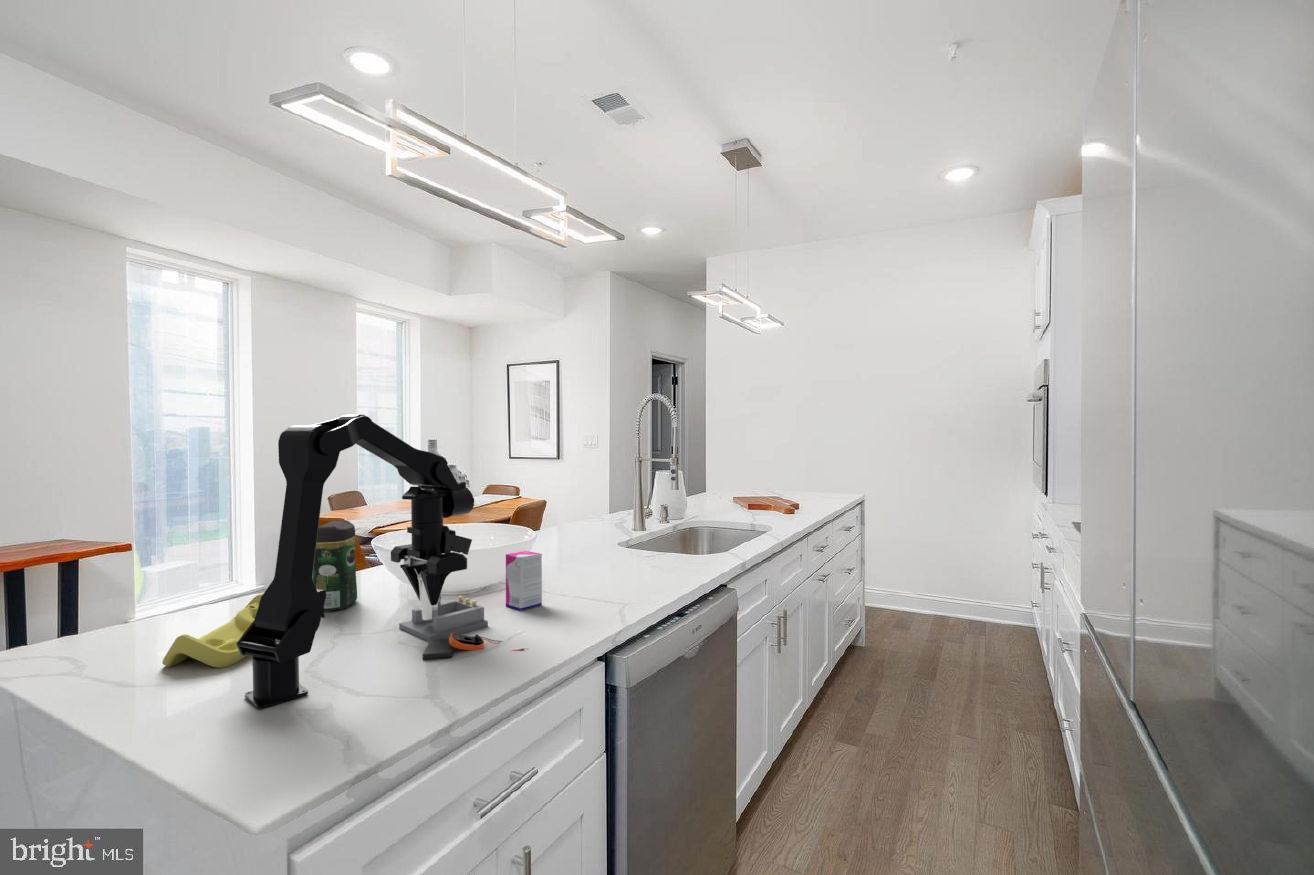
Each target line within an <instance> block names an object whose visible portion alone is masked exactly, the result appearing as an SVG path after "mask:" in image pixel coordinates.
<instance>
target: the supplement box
mask: <svg viewBox="0 0 1314 875" xmlns="http://www.w3.org/2000/svg"><path fill="white" fill-rule="evenodd" d="M542 556H543V554H542V553H540V552H535V551H534V552H533V551H530V550H529V551H527V550H523V551H518V552H517V551H516V552H511V553H506V554H505V607H507V608H510V609H513V610H518V611H521V612H523V611H527V610H530V609H533V608H538V607H540V606H543V574H542V573H543V572H542V570H543V566H542V558H543V557H542Z"/></svg>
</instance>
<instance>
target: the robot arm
mask: <svg viewBox="0 0 1314 875" xmlns="http://www.w3.org/2000/svg"><path fill="white" fill-rule="evenodd" d="M277 442H278V464H279V467H280V469H281V472H282V474H283V476H284V478H285V482H286V483H285V484H286V486H285V492H284V502H283V510H282V517H281V525H280V533H279V541H278V549H277V554H276V555H277V556H276V562H275V571H274V576H273V577H274V578H273V580H272V581H271V582H270V584H269V585H268V587H267V589H266V590H265V591H264V593H262V594H263V595H262V597H261V600H260V603H259V606H258V610H257V613H256V617H255V620H254V621H253V622H252V624H251V625H250V626H249V628H248V629H247V630H246V631H245V633H244V634H243V635H242V637H241V638H240V639H239V641H238V642H237V647H238V649H239V651H240V654H241V655H247V656H248V657H251V658H252V690H251V691H247V692H245V693H244V698H245V699H246V700H248V702H250V704H252V705H253V707H255V708H256V709H264V708H267V707H271V706H273V705H274V706H275V705H278V704H280V703H283V702H286V701H290V700H293V699H296V698H300V697H301V698H302V697H303V696H306V695H309V690H308V689H307V688H306V687H304V686H303V685H301V684H300V664H299V663H300V662H299V661H300V657H301V656H304V655H306V654H309V653H311V649H312V647H313V644H314V640H315V637H316V636H315V635H316V632H317V631H318V629H319V627H320V625H321V621H322V620H321V619H324V618H325V617H326V616H325V612H324V603H325V599H326V591H325V590H320V589H316V587H315V584H314V582H313V567H314V559H315V551H316V542H317V534H318V526H320V517H321V509H322V508H321V507H322V501H323V494H324V493H323V492H324V487H325V482H327V480H328V479H329V477H330V476H331V475H332V473H333V472H334V470H335V469H336V467H337V464H338V461H339V457H340V453H341V452H342V451H345V450H347V449H350V448H352V447H354V446H355V445H357V446H359V447H360V448H362V449H364V450H366V451H367V452H369V453H371V454H373V455H374V456H376V457H378V458H379V459H381V460H383V461H384V462H386V463H388V464H391V466H393V467H394V468H396V470H397V473H398V475H399V476H400V477H401V478H402V479H403V480H405V482H407V483H408V485H412V486H410V487H409V488H408V490H407V491H406V492H405V493H404V494H403V495H402V496H401V498H402V500H408V501H409V500H410V502H411V504H410V507H411V509H410V511H411V513H410V516H411V518H410V519H411V520H410V521H411V524H410V525H411V526H407V527H406V532H407V533H408V534H411V544H410V543H409V544H403V545H395V546H394V547H393V548H392V549H391V551H390V562H393V563H395V564H397V563H400V562H401V561H402V560H403V564H400V566H399V567H400V568H401V569H402V571H403V573H404V574H405V576H406V578H407V579H408V581H409V583H410V585H411V587H412V588H413V591H414V593H415V594H416V597H417V599H418V600H419V602H420V593H419V585H418V576H417V574H416V572H415V569H416V571H417V573H418V575H419V574H421V577H422V580H423V583H424V586H425V589H426V593H427V596H428V599H429V601H430V604H431V605H436V604H437V603H438V600H439V596H440V593H441V594H442V590H443V586H444V584H445V582H446V579H447V577H449V575H450V574H451V573H453V572H454V573H455V572H460V571H464V570H467V569H468V557H466V556H465V555H467V556H468V555H469V551H470V548H471V545H472V541H473V539H472V538H468V537H464V536H460V535H458V534H456V530H454V529H450V528H449V526H448V525H444V519H447V518H453V517H458V516H464V515H467V514H469V513H471V511H472V510H473V509H474V506H475V498H474V496H473V493H472V491H471V490H470V489H469V488H467V483H466V482H465V481H457V479H456V477H455V475H454V473H453V471H452V470H451V469H450V467H449V465H448V464H449V463H448V460H447V459H446V458H445V457H443V456H441V455H439V454H436V453H433V452H430V451H425V450H422V449H418V448H416V447H413V446H412V445H411V444H409V443H407V442H405V441H404V440H403V439H401V438H399V437H398V436H396V435H394V434H393V433H391V432H390V431H388V430H387V429H386V428H384V427H382V426H380V425H378V424H377V423H376V422H374V421H373V420H372V419H371V418H370V417H369V416H367V415H366V414H343V415H341V416H339V417H336V418H333V419H330V420H325V421H322V422H318V423H313V424H309V425H308V424H307V425H305V424H303V425H302V424H301V425H299V424H298V425H292V426H289V427H288V428H286V429H285V430H284V431H281V432H280V435H279V437H278V441H277ZM276 640H278V641H276ZM247 656H246V657H247Z"/></svg>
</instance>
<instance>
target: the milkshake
mask: <svg viewBox="0 0 1314 875" xmlns="http://www.w3.org/2000/svg"><path fill="white" fill-rule="evenodd" d="M415 572H416V574H417V576H418V585H419V593H420V601H419V604H420V608H421V617H422V620H433V617H437V616H440V605H441V603H442V592H441V593H440V596H439V600H438V603H437V604H436V605H431V604H430V601H429V599H428V596H427V593H426V589H425V586H424V583H423V580H422V577H421V574H419V575H418V573H417V571H416V569H415Z"/></svg>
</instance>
